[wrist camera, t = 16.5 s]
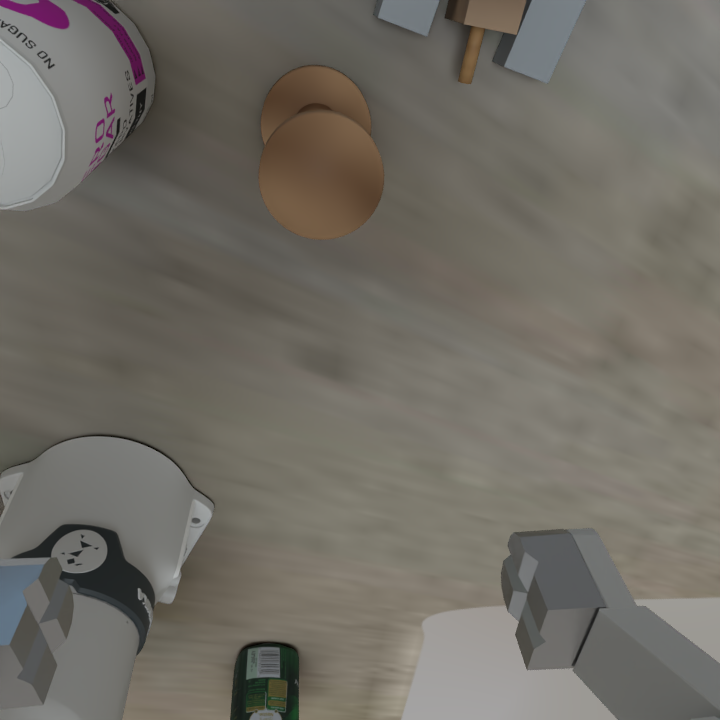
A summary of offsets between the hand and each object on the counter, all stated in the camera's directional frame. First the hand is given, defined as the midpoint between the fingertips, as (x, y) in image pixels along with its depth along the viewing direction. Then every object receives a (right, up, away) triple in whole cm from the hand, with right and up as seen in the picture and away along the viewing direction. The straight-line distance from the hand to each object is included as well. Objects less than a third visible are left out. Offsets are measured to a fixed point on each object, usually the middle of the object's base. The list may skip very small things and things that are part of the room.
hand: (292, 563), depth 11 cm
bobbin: (-2, +19, +27) cm, 33 cm away
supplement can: (-15, +21, +24) cm, 36 cm away
